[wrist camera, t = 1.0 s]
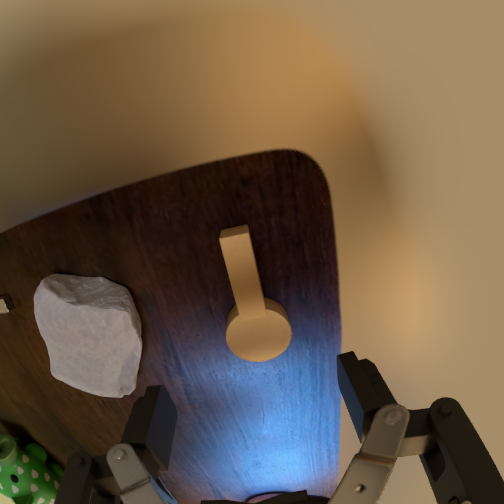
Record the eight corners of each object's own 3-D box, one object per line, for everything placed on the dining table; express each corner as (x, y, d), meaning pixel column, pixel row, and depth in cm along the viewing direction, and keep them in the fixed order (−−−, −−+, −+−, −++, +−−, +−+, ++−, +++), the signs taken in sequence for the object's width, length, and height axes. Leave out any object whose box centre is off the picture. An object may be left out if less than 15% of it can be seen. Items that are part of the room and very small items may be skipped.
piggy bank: (34, 427, 30) (1, 491, 16) (86, 482, 36) (69, 538, 22) (-9, 414, 31) (-40, 464, 16) (40, 469, 36) (20, 515, 22)
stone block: (144, 273, 24) (43, 266, 22) (138, 302, 20) (22, 292, 17) (148, 371, 28) (63, 363, 26) (147, 405, 24) (53, 394, 21)
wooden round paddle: (200, 234, 22) (195, 244, 19) (269, 219, 22) (272, 227, 19) (234, 352, 25) (234, 369, 23) (292, 341, 25) (296, 357, 23)
